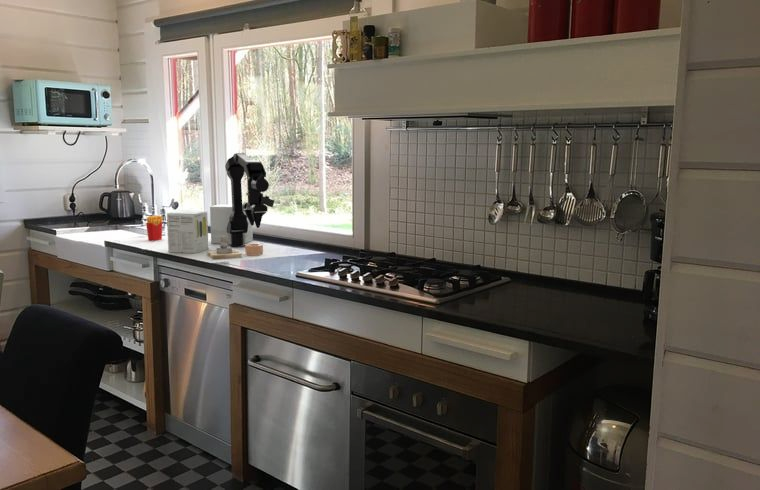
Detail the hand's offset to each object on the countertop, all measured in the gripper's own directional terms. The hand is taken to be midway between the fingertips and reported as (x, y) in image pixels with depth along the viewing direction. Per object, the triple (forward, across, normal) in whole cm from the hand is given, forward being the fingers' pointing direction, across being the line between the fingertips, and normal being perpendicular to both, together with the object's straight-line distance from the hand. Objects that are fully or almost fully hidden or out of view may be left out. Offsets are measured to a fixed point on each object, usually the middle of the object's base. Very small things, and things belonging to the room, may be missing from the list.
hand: (255, 226), depth 277 cm
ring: (+12, 0, +1) cm, 12 cm away
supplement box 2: (+12, +39, +1) cm, 41 cm away
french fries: (+12, +61, +34) cm, 71 cm away
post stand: (+12, 0, +14) cm, 18 cm away
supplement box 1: (+12, +21, +25) cm, 35 cm away
